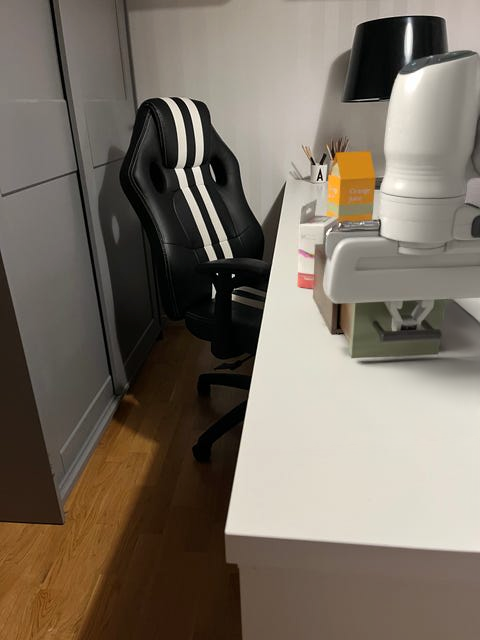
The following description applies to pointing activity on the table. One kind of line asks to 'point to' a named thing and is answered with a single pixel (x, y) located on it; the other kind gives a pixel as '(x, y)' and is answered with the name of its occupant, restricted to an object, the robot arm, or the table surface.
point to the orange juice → (351, 186)
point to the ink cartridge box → (311, 241)
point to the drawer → (389, 330)
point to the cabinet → (319, 296)
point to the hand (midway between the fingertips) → (405, 331)
